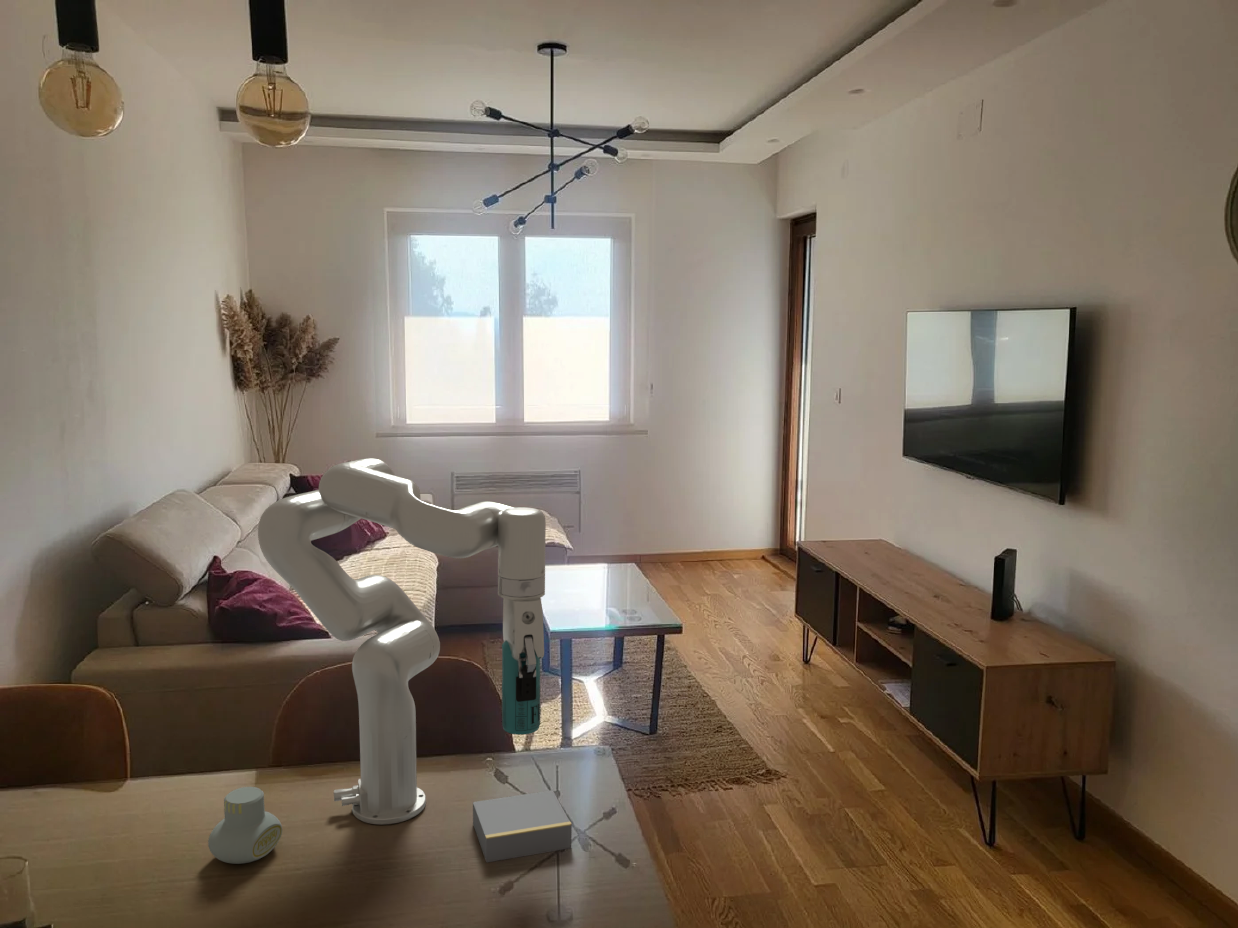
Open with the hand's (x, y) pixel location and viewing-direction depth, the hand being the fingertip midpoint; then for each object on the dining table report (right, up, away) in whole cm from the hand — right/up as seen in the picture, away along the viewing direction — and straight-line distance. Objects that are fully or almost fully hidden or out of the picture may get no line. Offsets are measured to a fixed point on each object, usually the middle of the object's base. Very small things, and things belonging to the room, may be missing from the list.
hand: (520, 690), depth 149 cm
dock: (0, -25, +4) cm, 25 cm away
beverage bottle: (0, -8, +1) cm, 8 cm away
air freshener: (-44, -26, -3) cm, 51 cm away
